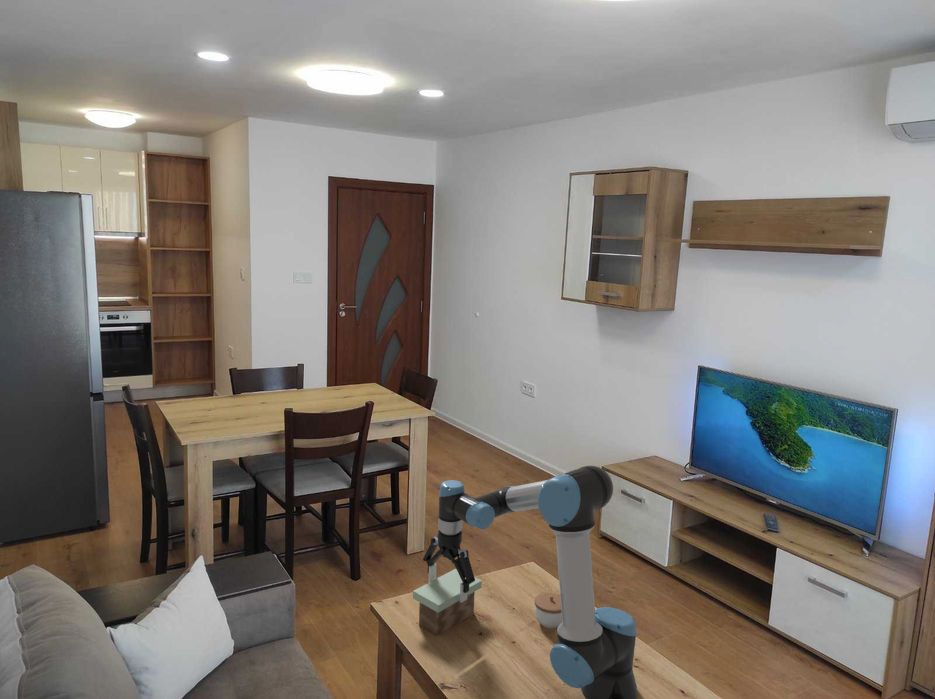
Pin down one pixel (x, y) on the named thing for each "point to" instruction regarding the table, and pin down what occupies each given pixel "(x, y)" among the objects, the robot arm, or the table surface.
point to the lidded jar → (548, 609)
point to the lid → (443, 591)
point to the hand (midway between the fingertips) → (447, 592)
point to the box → (445, 615)
